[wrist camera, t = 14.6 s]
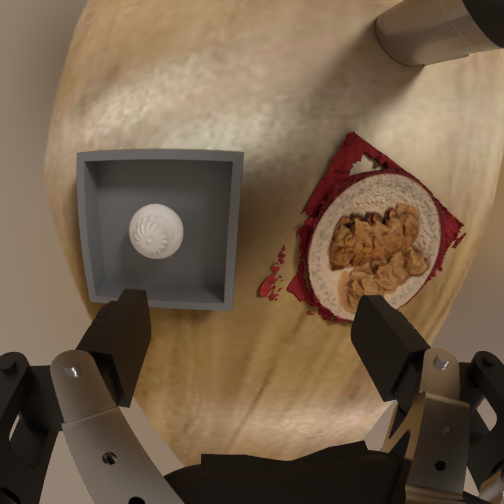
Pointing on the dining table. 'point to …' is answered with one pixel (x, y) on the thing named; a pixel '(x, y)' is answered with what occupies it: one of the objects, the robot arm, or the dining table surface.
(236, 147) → the dining table surface
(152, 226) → the white ribbed rounded piece
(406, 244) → the plate with food
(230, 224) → the serving bin
